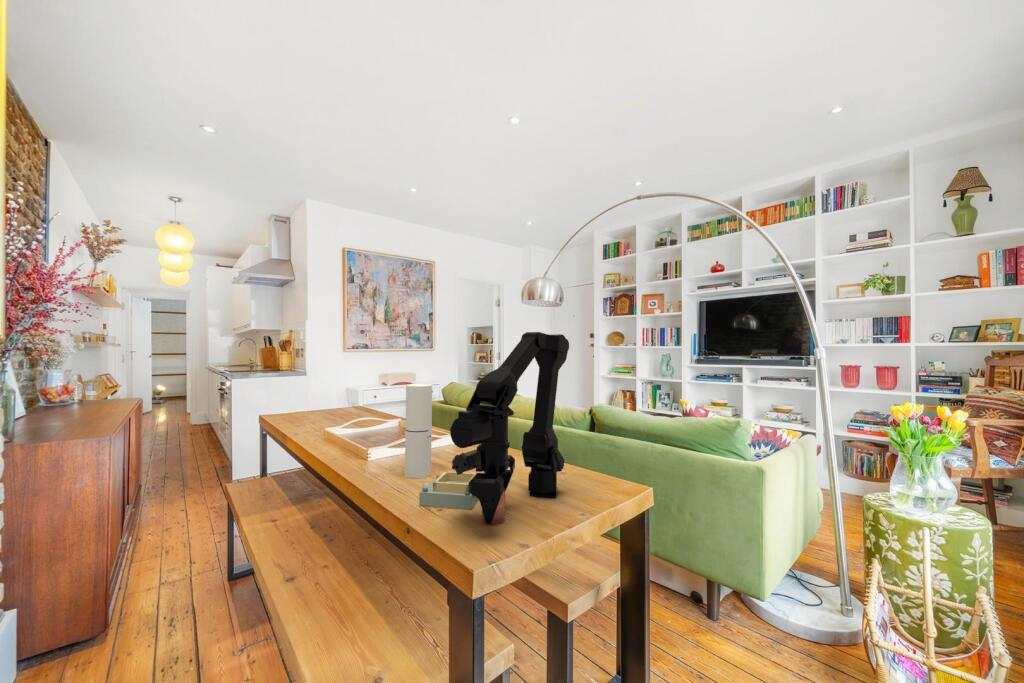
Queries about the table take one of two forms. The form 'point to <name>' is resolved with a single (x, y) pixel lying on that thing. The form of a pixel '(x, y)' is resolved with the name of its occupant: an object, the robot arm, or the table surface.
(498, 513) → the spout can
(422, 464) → the cylindrical container
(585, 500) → the table surface
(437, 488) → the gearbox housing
